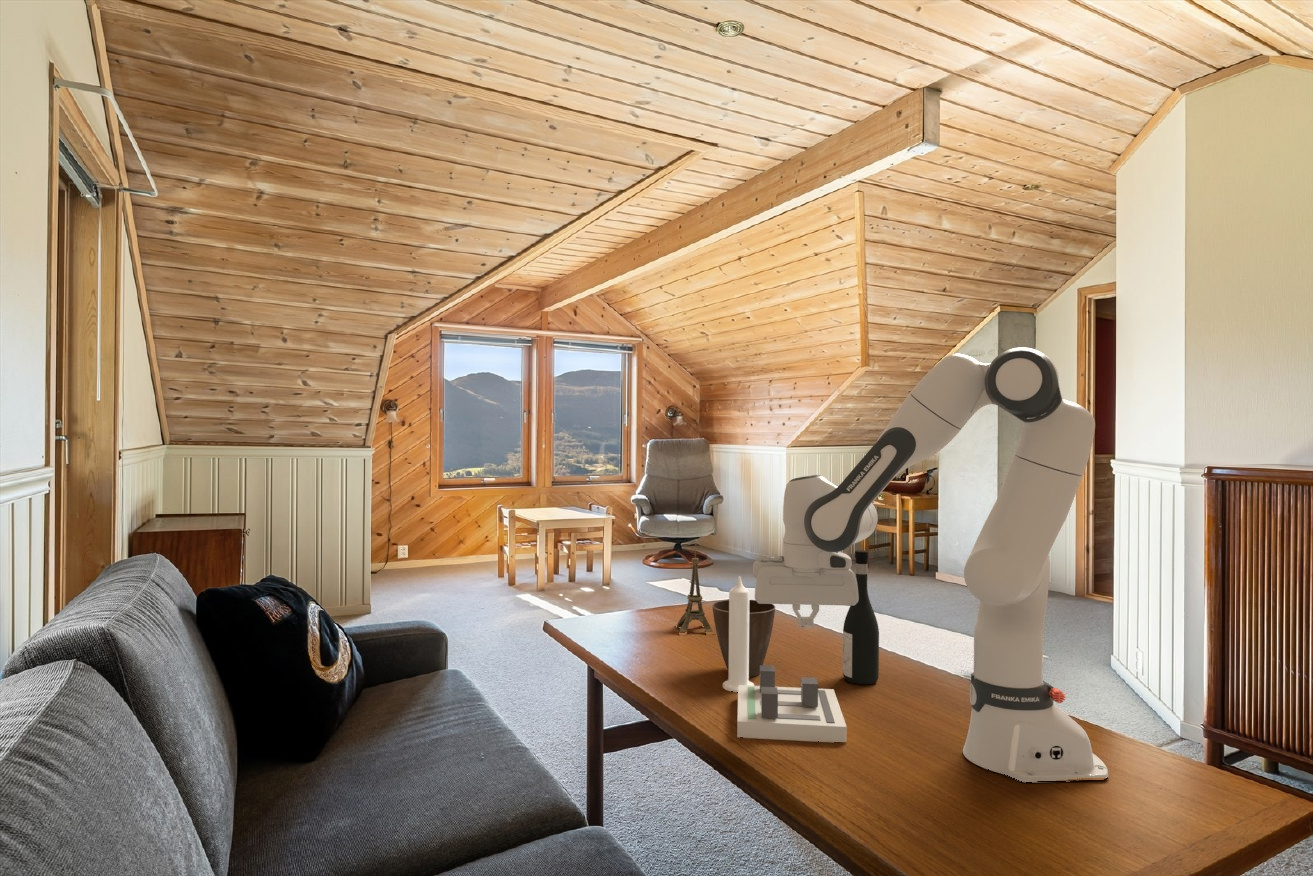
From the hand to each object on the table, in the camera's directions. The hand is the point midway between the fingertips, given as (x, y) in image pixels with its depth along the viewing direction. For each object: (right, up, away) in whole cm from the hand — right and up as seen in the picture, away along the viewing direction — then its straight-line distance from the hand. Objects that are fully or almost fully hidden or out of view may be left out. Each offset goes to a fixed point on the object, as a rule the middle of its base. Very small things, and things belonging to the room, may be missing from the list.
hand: (805, 626), depth 152 cm
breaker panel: (-3, -19, +1) cm, 19 cm away
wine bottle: (+18, -19, +25) cm, 36 cm away
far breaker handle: (-6, -15, +8) cm, 18 cm away
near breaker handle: (-8, -15, -6) cm, 18 cm away
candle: (-11, -19, +20) cm, 29 cm away
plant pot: (-9, -19, +30) cm, 37 cm away
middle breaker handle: (+1, -15, 0) cm, 15 cm away
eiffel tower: (-19, -18, +70) cm, 75 cm away
